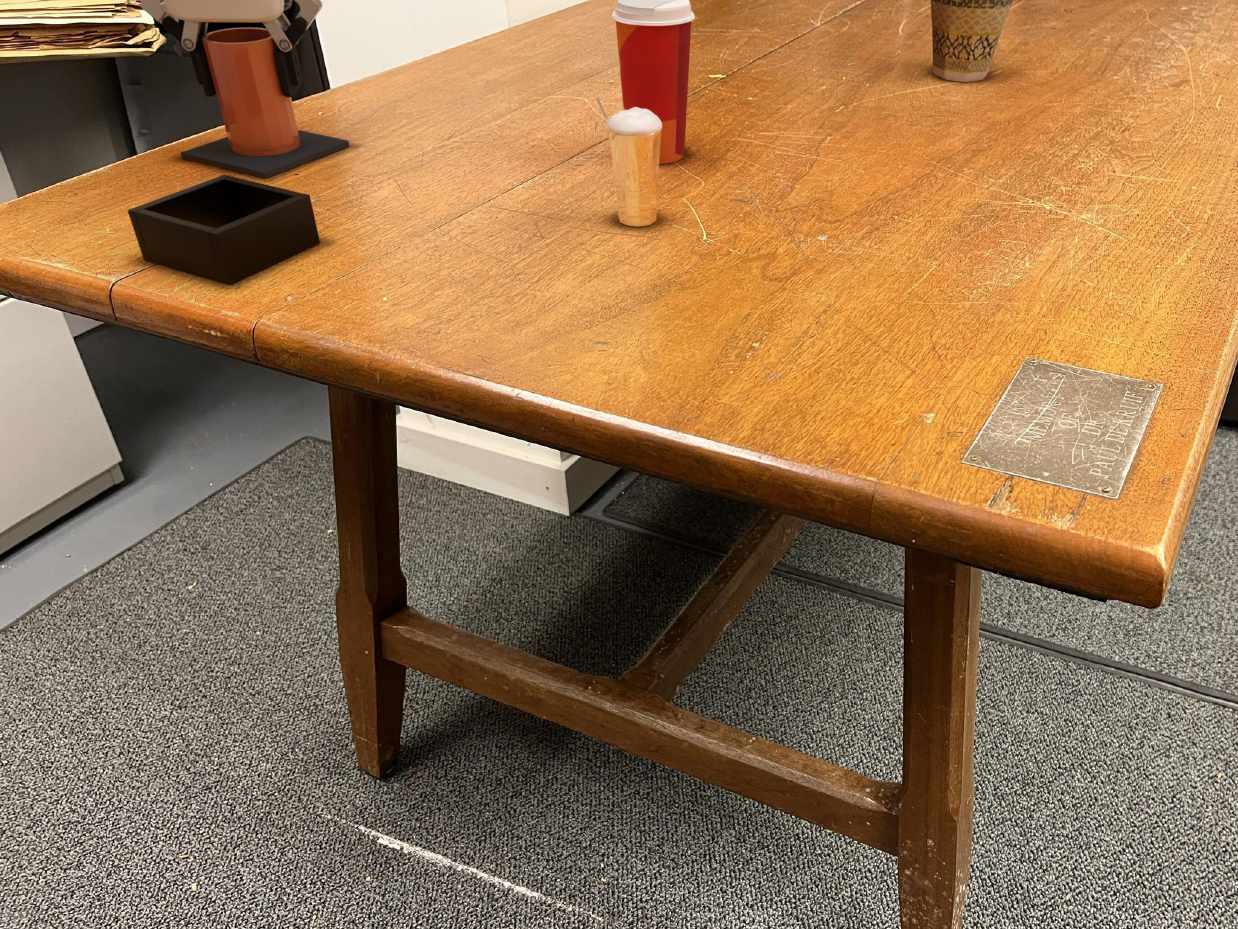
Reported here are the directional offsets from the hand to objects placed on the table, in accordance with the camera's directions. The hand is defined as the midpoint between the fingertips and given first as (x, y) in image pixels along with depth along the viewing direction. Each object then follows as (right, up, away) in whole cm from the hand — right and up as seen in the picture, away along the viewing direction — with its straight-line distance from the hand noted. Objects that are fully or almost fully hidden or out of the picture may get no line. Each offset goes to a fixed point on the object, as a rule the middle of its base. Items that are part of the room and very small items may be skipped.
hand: (253, 91), depth 100 cm
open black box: (+5, -19, -16) cm, 26 cm away
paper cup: (+38, -4, +6) cm, 38 cm away
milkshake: (+37, -15, -8) cm, 41 cm away
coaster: (0, -5, +3) cm, 6 cm away
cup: (0, -4, +3) cm, 5 cm away
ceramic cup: (+75, +17, +34) cm, 84 cm away
